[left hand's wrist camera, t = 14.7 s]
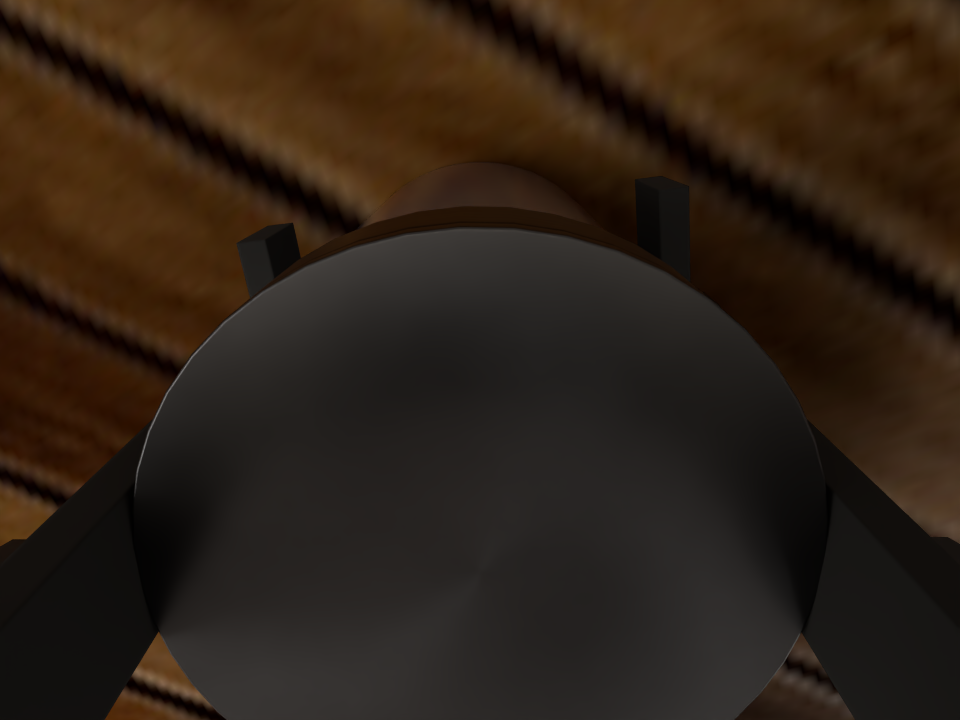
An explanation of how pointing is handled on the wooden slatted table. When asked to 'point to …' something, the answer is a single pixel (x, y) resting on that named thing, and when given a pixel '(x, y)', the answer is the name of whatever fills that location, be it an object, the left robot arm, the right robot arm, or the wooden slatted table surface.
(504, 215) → the lid
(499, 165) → the jar
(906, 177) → the wooden slatted table surface
